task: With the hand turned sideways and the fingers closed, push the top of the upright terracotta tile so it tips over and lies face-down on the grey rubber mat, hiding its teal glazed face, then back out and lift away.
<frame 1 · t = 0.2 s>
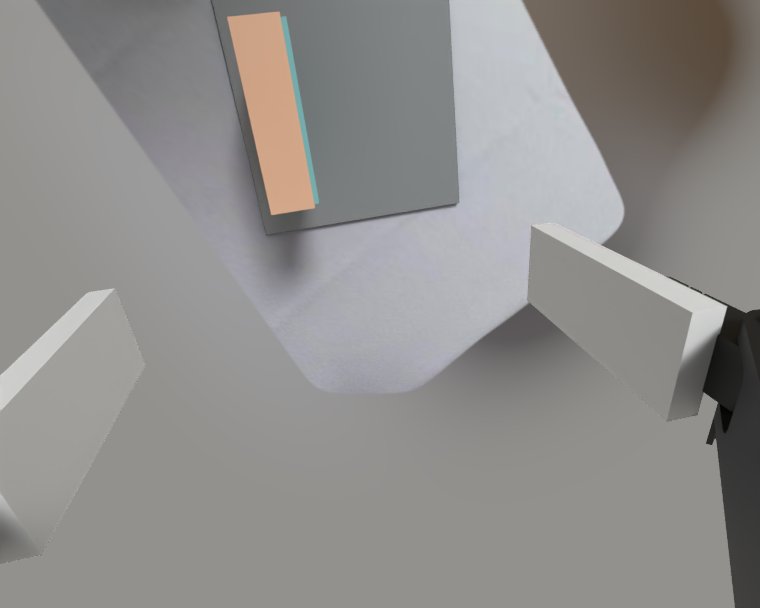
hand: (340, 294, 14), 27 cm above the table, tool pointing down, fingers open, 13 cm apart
mat: (349, 111, 37), on the table
tile: (278, 121, 36), point 1 cm above the table, touching mat
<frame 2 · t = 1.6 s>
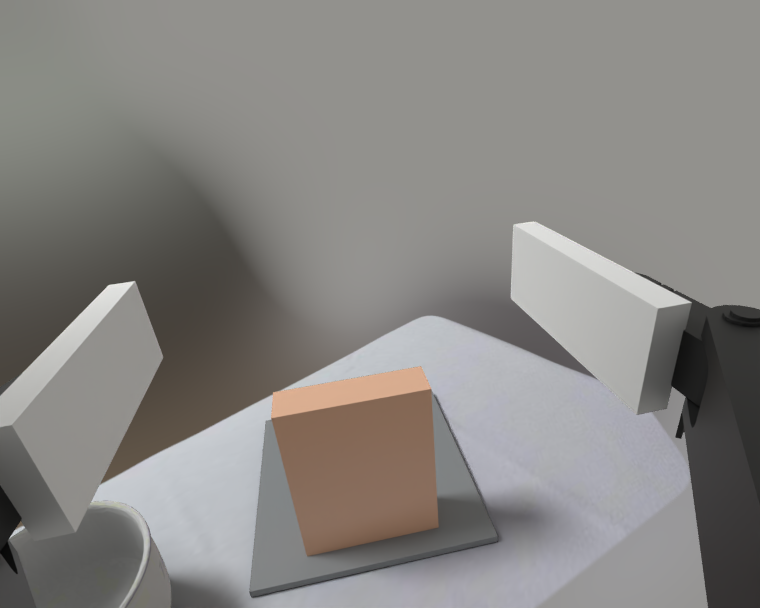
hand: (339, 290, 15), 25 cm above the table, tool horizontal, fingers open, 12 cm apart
mat: (362, 473, 40), on the table
tile: (371, 526, 34), point 1 cm above the table, touching mat
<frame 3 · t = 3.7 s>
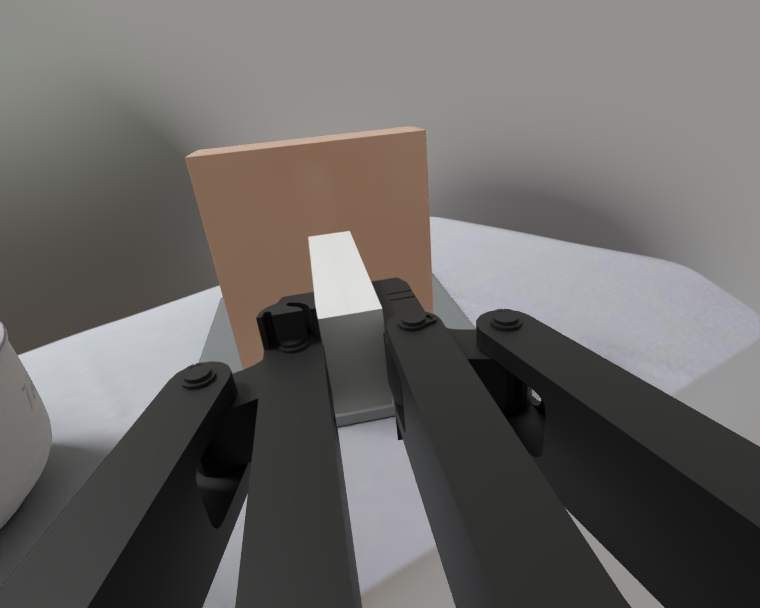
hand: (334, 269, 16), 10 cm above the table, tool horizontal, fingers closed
mat: (336, 338, 31), on the table
tile: (345, 380, 25), point 1 cm above the table, touching mat
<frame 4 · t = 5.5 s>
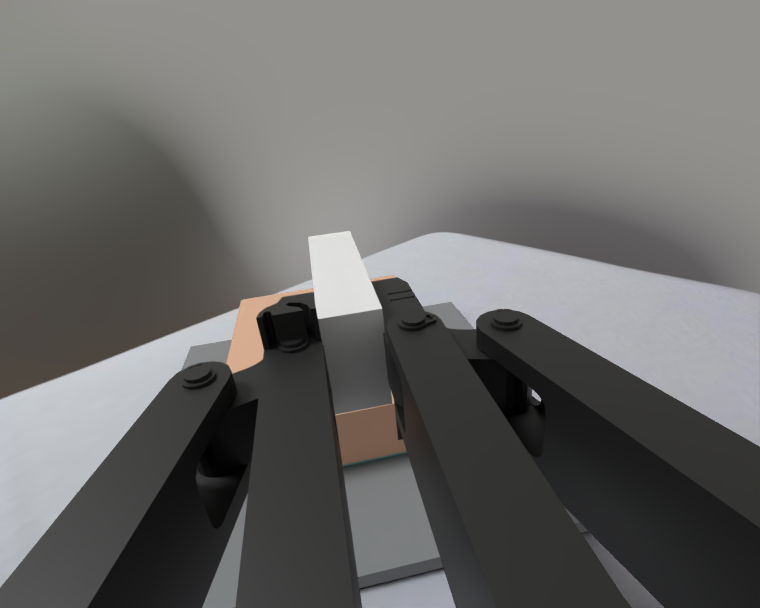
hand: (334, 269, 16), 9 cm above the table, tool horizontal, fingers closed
mat: (340, 413, 23), on the table
tile: (344, 439, 18), point 2 cm above the table, tilted 90°, touching mat
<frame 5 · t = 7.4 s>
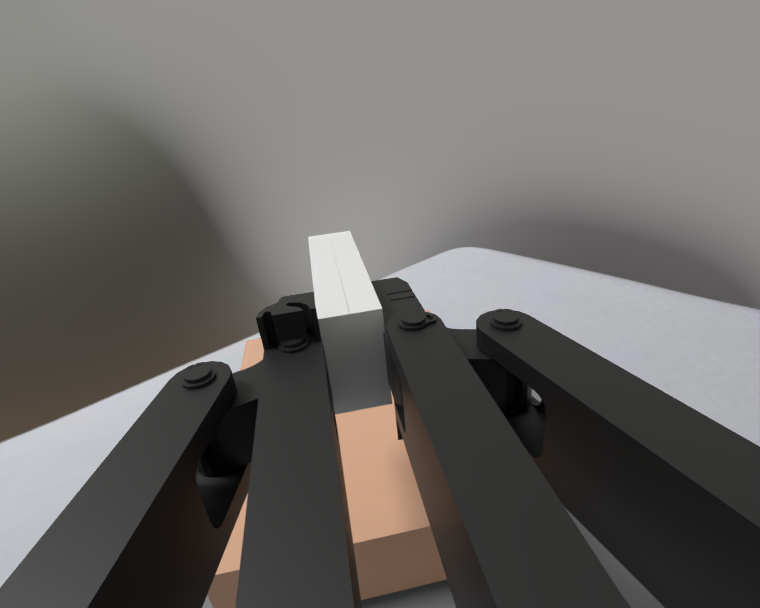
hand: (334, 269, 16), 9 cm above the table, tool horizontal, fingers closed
mat: (371, 498, 18), on the table
tile: (386, 566, 13), point 2 cm above the table, tilted 90°, touching mat
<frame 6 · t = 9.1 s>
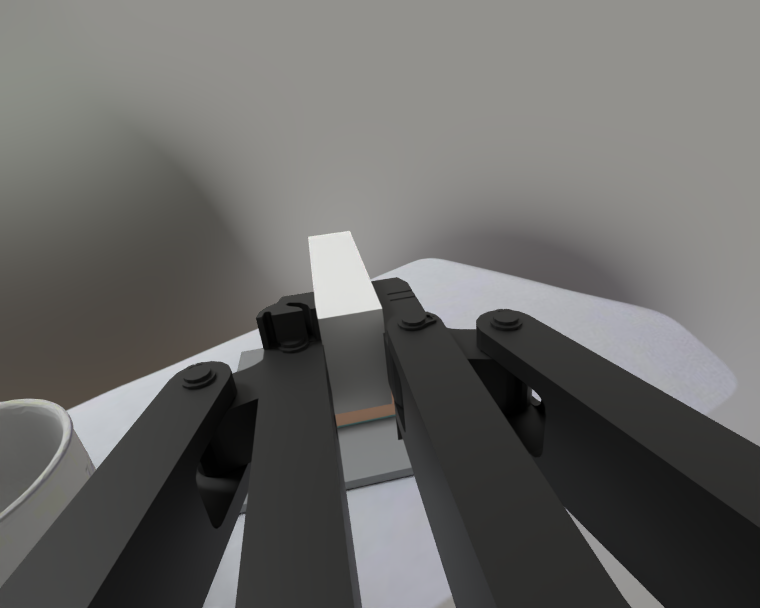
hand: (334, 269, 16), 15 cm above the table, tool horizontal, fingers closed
mat: (348, 395, 34), on the table
tile: (350, 407, 29), point 2 cm above the table, tilted 90°, touching mat
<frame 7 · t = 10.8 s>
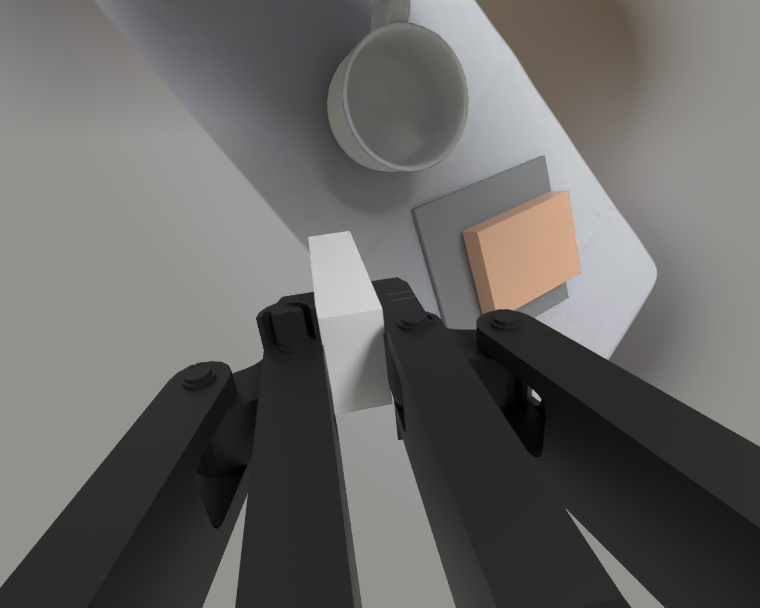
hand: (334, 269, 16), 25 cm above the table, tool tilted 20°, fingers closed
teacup: (368, 98, 41), on the table
mat: (497, 258, 51), on the table
tile: (480, 275, 48), point 2 cm above the table, tilted 90°, touching mat
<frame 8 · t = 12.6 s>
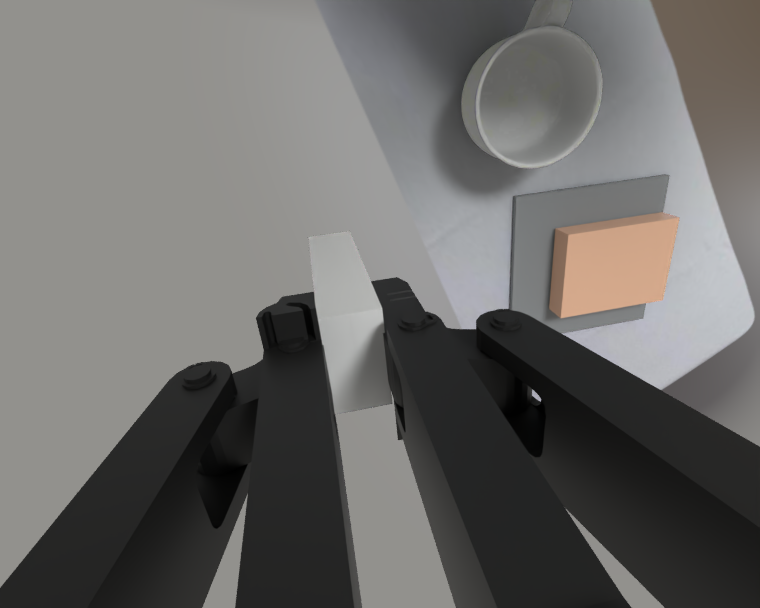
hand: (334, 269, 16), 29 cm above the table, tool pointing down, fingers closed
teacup: (506, 83, 43), on the table
mat: (582, 261, 53), on the table
tile: (558, 274, 50), point 2 cm above the table, tilted 90°, touching mat
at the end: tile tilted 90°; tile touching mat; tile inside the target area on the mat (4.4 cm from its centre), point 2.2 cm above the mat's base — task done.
